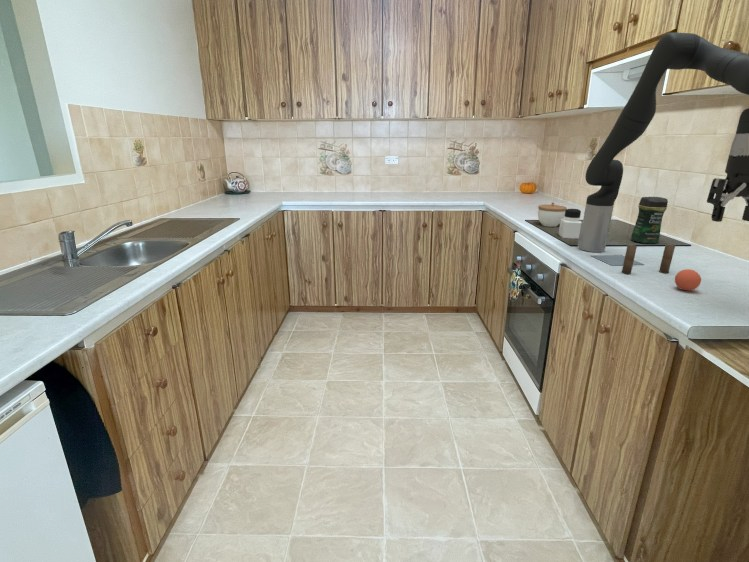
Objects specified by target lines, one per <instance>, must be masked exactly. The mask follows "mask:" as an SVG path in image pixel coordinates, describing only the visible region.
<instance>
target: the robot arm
mask: <svg viewBox="0 0 749 562" xmlns="http://www.w3.org/2000/svg"><path fill="white" fill-rule="evenodd" d="M667 70H675V71H676V70H677V71H679V70H698V71H699V70H700V71H703V72H704V73H705V74H706V75H707V76H708V77H709V78H710V79H712V80H714V81H717V82H719V83H722V84H724V85H729V86H731V87H732V88H733V89H734V90H736V91H737V92H739V93H741V94H744V95H748V96H749V53H746V52H741V51H738V50H733V49H730V48H729V49H728V48H725V47H721V46H718V45H716V44H714V43H713V42H710V41H709V40H707V39H706V38H704V37H703V36H700V35H698V34H697V33H696V34H695V33H692V32H691V33H690V32H688V33H687V32H668V33H665V34H664V35H663V36H662V37H661V38H660V39H659V40H658V41H657V43H656V45H655V46H654V48H653V49H652V52H651V54H650V56H649V58H648V60H647V62H646V64H645V67H644V69H643V71H642V74H641V76H640V78H639V80H638V81H637V84H636V85H635V88H634V89H633V91H632V93H631V95H630V97H629V99H628V101H627V102H626V104H625V105H624V107H623V108H622V111H621V112H620V114H619V116H618V117H617V119H616V122H615V123H614V125H613V126H612V129H611V130H610V132H609V134H608V135H607V138H606V139H605V141H604V142H603V144H602V145H601V147H600V149H599V150H598V151H597V153H596V154H595V156H594V157H593V158H592V159H591V161H590V163H589V165H588V166H587V169H586V172H585V182H586V184H588V185H590V186H596V187H598V186H599V187H600V188H599V189H598V190H597V191H596V192H594V193H592V194H590V195H588V196H587V197H586V200H585V201H586V202H585V208H584V213H583V220H582V221H581V222H582V223H581V228H580V234H579V239H577V240H578V241H577V248H578V249H579V250H582V251H584V252H585V251H586V252H593V253H602V252H605V251H606V246H607V241H608V237H609V231H610V227H611V226H610V225H611V222H612V221H611V220H612V217H613V211H614V205H615V201H616V199H617V198H618V195H619V191H620V188H621V185H622V180H623V175H624V166H623V163H622V162H621V161H620V160H618V159H615V157H617V155H618V154H619V153H621V152H622V151H623V150H625V148H627V147H629V146H630V145H631V144H633V143H634V142H635V141H636V140H637V139H639V138H641V136H642V135H643V134H644V133H645V131H647V128H648V127H649V125H650V124H651V122H652V121H653V119H654V116H655V115H656V111H657V96H656V95H657V89H658V85H659V83H660V81H661V80H662V78H663V76H664V74H665V72H667ZM724 173H725V174H726V177H725V178H713V179H712V182H711V185H710V189H709V192H708V196H707V199H706V203H709V204H711V205H713V207H712V208H713V209H712V213H711V221H712V222H716V223H717V222H719V223H721V222H722V221H723V219H724V214H725V210H726V205H727V204H728V203H729V202H730V201H731V200H733V199H734V198H740V197H741V199H744V201H745V203H746V205H745V206H744V210H743V214H742V217H741V218H742V219H741V220H742V221H744V222H745V221H746V222H749V107H748V108H746V109H744V110H742V111H741V113H740V115H739V118H738V123H737V127H736V131H735V135H734V137H733V140H732V142H731V145H730V149H729V154H728V158H727V161H726V165H725V170H724Z"/></svg>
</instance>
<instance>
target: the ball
mask: <svg viewBox="0 0 749 562" xmlns="http://www.w3.org/2000/svg"><path fill="white" fill-rule="evenodd" d="M701 282H702V277H701V275H700V274H699V273H698V271H696V270H694V269H689V268H688V269H687V268H686V269H682V270H680V271H679V272H677V273H676V274H675V277H674V283H675V285H676V286H677V288H679V289H680V290H682V291H683V290H684V291H693V290H695V289H697V288H698V287H699V286H700V285H701Z"/></svg>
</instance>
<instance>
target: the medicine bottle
mask: <svg viewBox="0 0 749 562" xmlns="http://www.w3.org/2000/svg"><path fill="white" fill-rule="evenodd" d="M581 213H582V211H581V210H580V209H578V208H567V209H566V210H565V216H564V219H561V221H560V224H559V229H558V235H559V237H561V238H562V239H571V240H573V239H575V240H579V234H580V228H581V223H582V222H583V221H581V220H580V218H581Z"/></svg>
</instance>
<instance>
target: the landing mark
mask: <svg viewBox="0 0 749 562" xmlns="http://www.w3.org/2000/svg"><path fill="white" fill-rule="evenodd" d="M590 257H592V258H594V259H597V260H599V261H601V262H604V263H606V264H607V265H609V266H611V265H612V267H613V265H619V266H623V263H624V259H625V255H623V254H607V255H606V254H605V255H602V254H597V255H590ZM633 266H645V263H643V262H640V261H638V260H635V259H634V262H633Z"/></svg>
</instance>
